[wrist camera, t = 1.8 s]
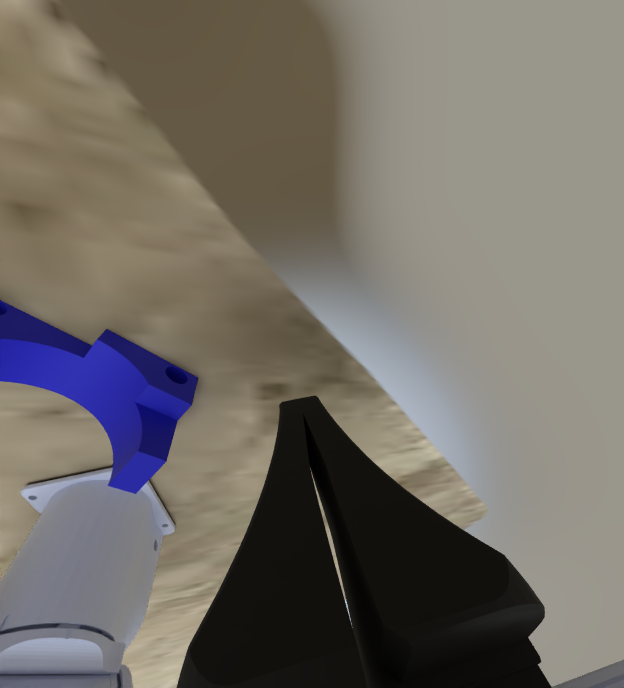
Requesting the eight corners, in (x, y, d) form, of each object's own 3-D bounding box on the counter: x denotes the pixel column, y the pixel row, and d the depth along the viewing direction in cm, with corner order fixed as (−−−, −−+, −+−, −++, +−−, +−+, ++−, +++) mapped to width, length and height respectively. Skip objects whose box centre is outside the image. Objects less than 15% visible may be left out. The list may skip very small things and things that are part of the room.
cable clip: (198, 375, 20) (182, 443, 15) (162, 417, 21) (135, 494, 16) (-18, 260, 14) (-165, 304, 9) (-53, 324, 15) (-202, 397, 10)
